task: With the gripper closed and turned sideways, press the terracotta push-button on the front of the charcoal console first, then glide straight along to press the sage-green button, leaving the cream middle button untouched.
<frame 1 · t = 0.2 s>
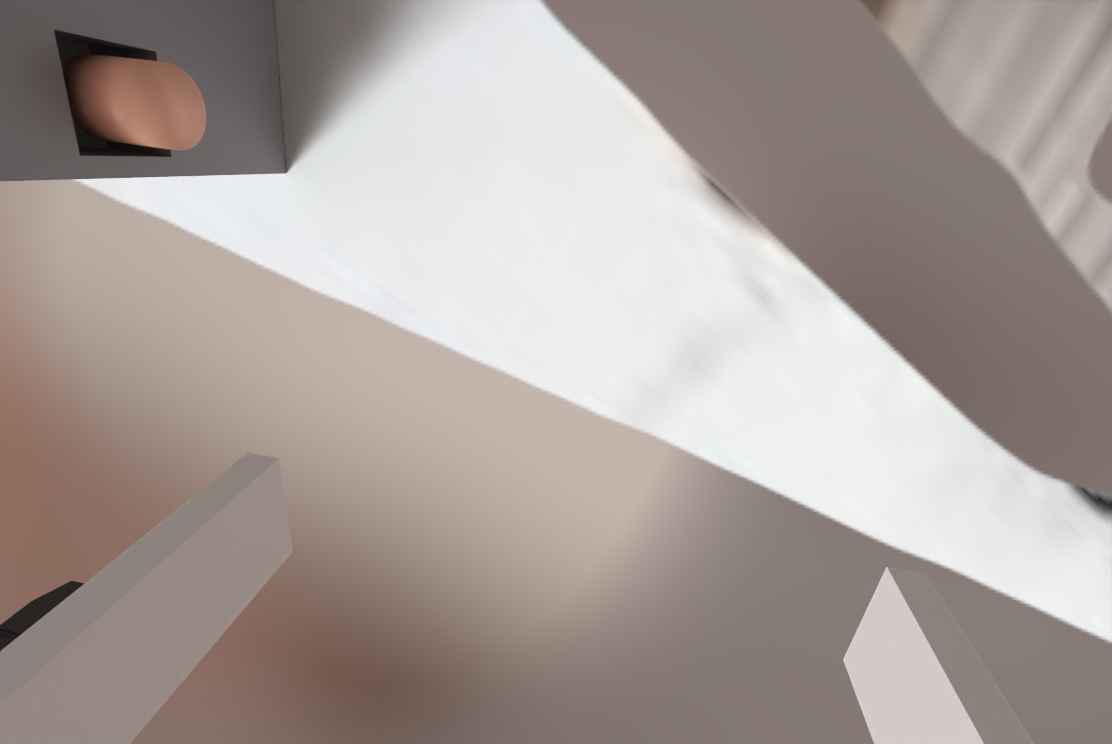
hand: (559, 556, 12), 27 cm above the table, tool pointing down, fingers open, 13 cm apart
terracotta button: (138, 103, 26), point 12 cm above the table, slide at 0.0 cm
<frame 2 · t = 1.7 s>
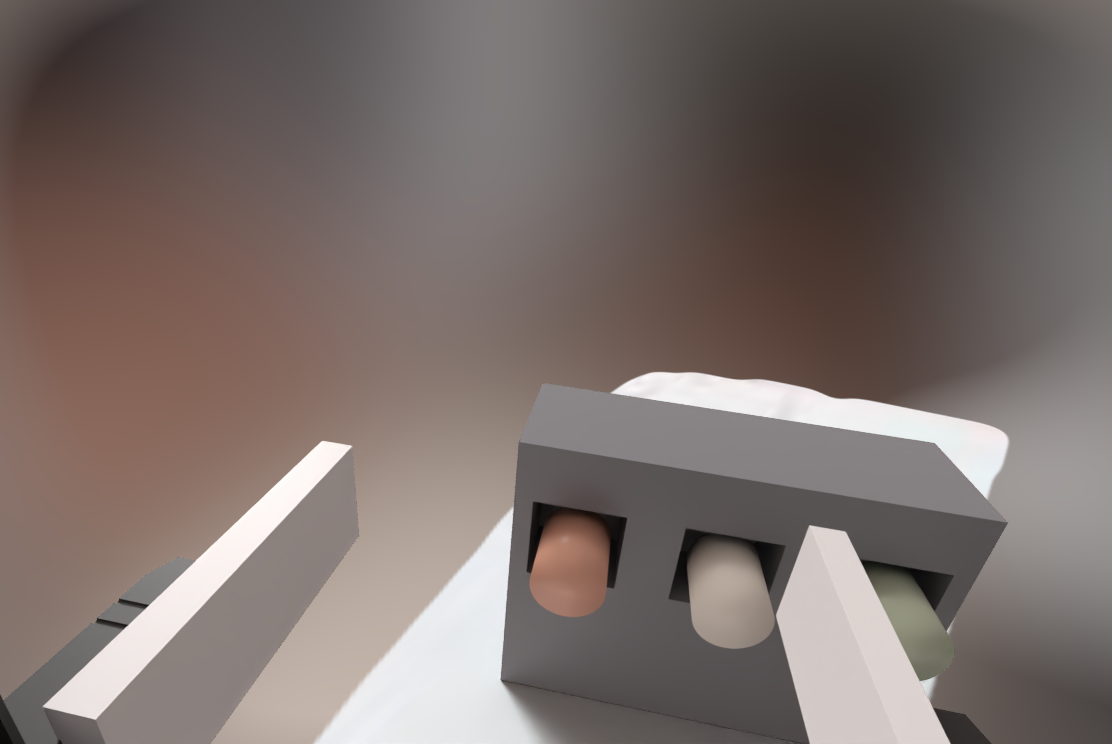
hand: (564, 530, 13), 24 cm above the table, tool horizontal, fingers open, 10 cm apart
cream button: (727, 588, 28), point 12 cm above the table, slide at 0.0 cm
terracotta button: (572, 559, 28), point 12 cm above the table, slide at 0.0 cm
console: (678, 667, 37), on the table
sage button: (890, 618, 27), point 12 cm above the table, slide at 0.0 cm
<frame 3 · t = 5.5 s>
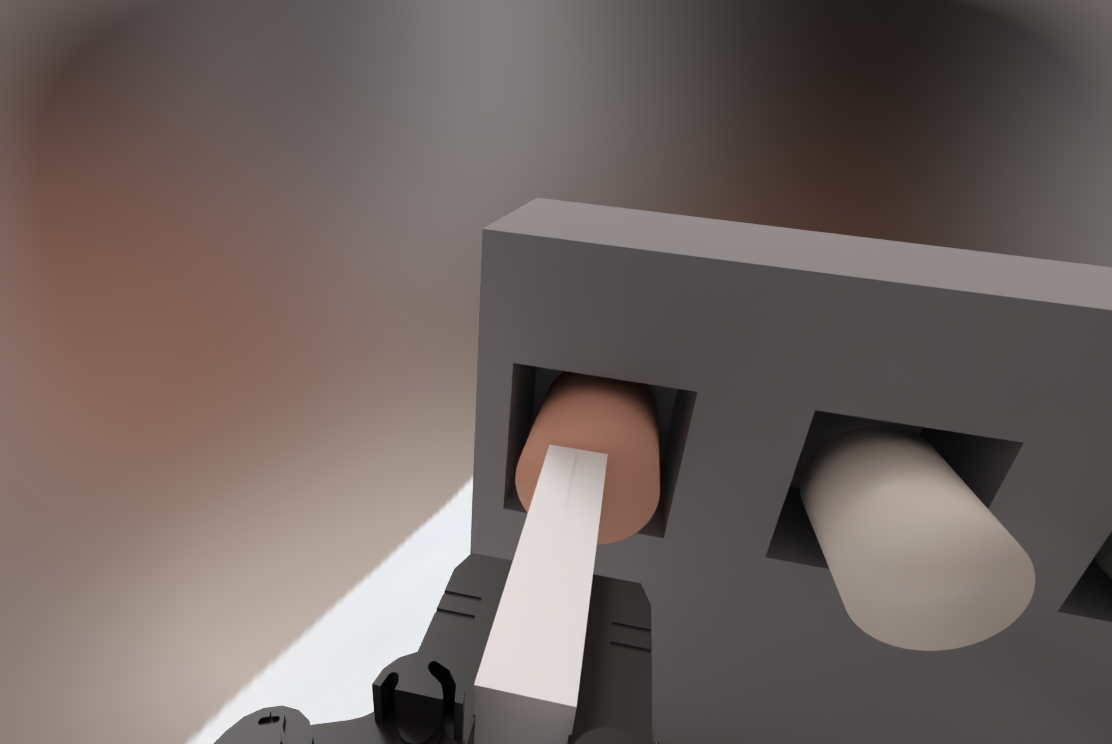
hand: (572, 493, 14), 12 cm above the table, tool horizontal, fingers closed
cream button: (898, 529, 14), point 12 cm above the table, slide at 0.0 cm
terracotta button: (593, 447, 16), point 12 cm above the table, slide at 1.4 cm, touching gripper
console: (752, 679, 23), on the table
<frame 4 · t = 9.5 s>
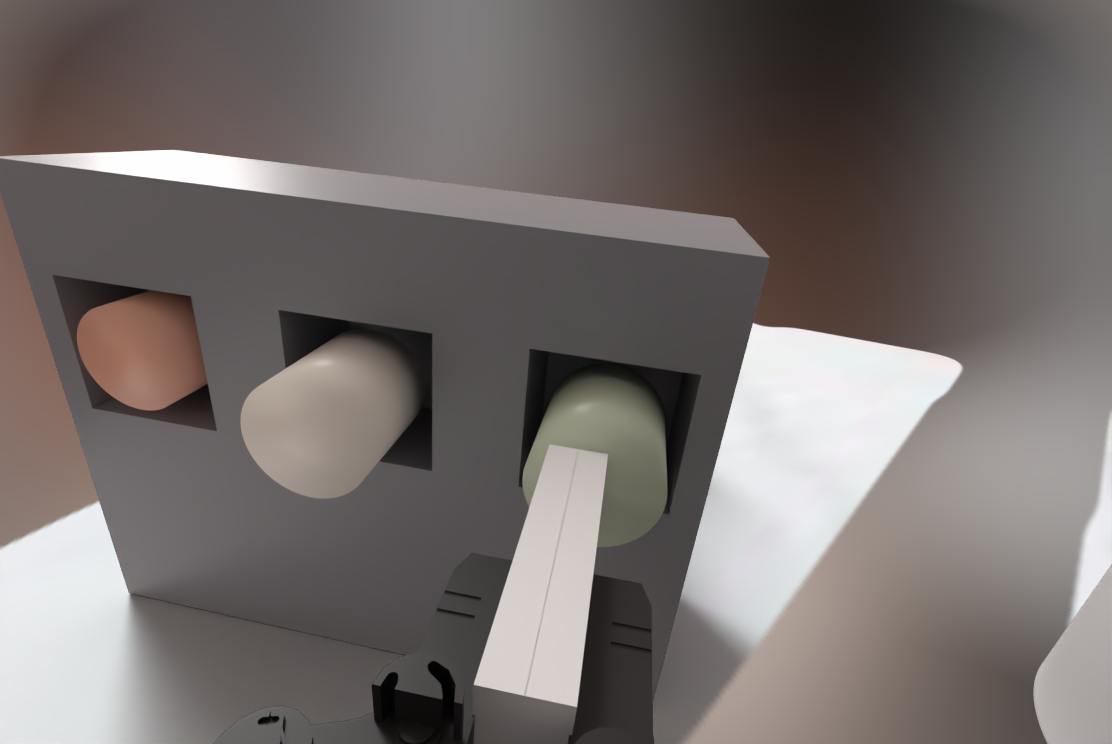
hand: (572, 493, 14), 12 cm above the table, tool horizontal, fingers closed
cream button: (342, 408, 17), point 12 cm above the table, slide at 0.0 cm
terracotta button: (176, 339, 20), point 12 cm above the table, slide at 2.7 cm
console: (409, 585, 26), on the table
sage button: (600, 449, 16), point 12 cm above the table, slide at 0.2 cm, touching gripper
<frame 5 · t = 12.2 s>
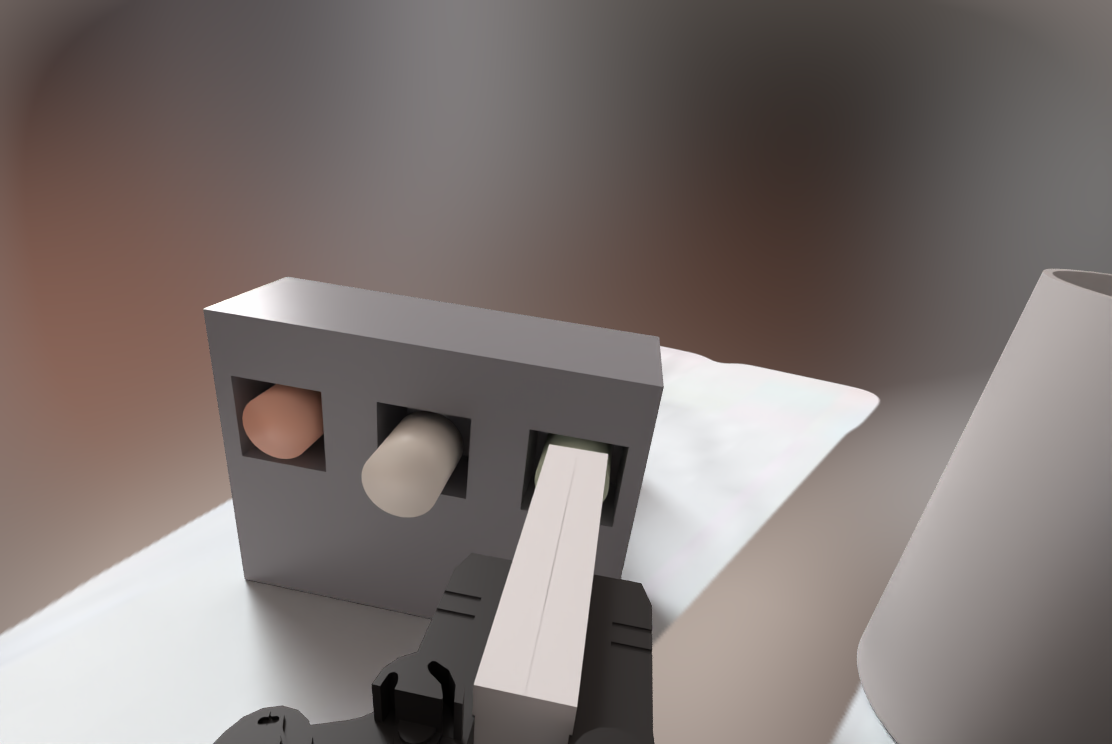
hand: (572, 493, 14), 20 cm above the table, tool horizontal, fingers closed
cylinder vase: (967, 720, 32), on the table
cream button: (415, 462, 28), point 12 cm above the table, slide at 0.0 cm
terracotta button: (297, 411, 31), point 12 cm above the table, slide at 2.7 cm
console: (438, 574, 36), on the table
sage button: (575, 462, 29), point 12 cm above the table, slide at 2.7 cm
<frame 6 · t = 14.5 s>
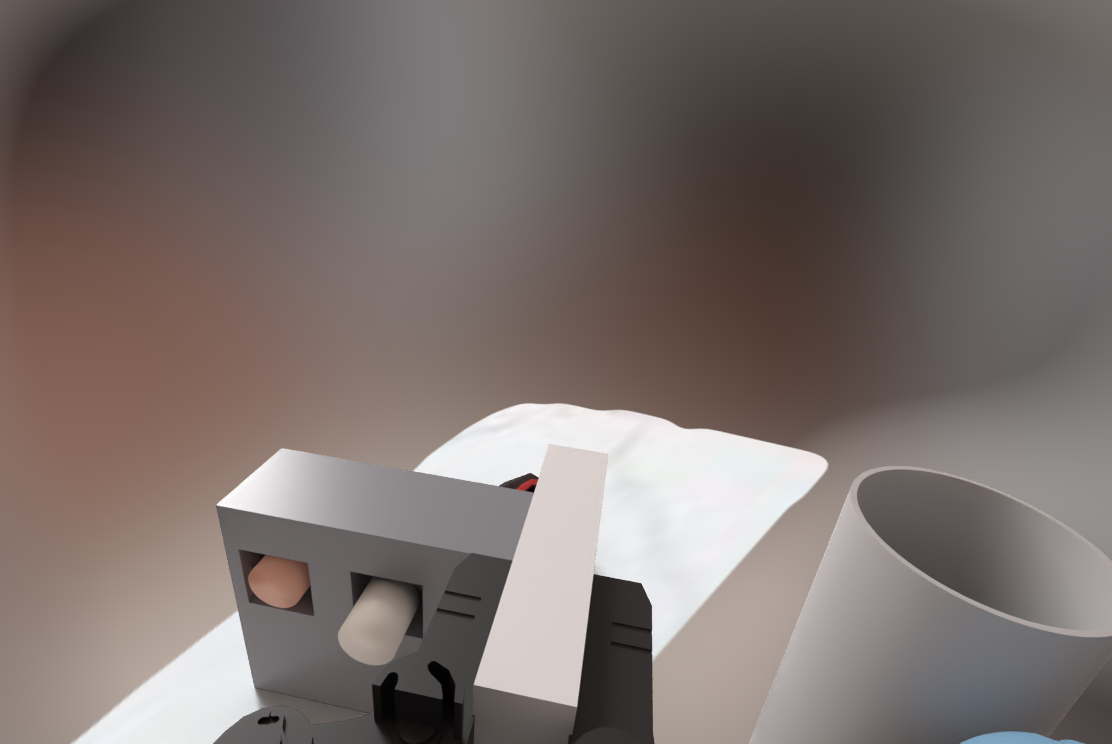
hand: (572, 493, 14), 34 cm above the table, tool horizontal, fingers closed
cream button: (380, 617, 36), point 12 cm above the table, slide at 0.0 cm
terracotta button: (291, 566, 39), point 12 cm above the table, slide at 2.7 cm
console: (411, 676, 45), on the table
toy: (507, 571, 56), on the table
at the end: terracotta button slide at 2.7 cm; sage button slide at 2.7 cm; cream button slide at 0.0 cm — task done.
